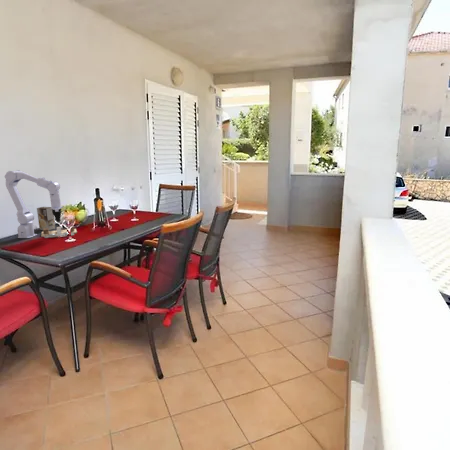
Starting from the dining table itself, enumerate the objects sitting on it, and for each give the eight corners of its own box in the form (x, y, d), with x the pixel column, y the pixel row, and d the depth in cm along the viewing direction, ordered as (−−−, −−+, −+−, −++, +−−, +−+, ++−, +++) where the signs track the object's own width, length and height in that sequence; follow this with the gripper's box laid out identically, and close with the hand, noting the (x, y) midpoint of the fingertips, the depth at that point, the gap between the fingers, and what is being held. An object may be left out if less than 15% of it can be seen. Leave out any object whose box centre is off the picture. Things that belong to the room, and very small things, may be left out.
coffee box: (55, 228, 251) (53, 207, 248) (49, 230, 245) (46, 208, 242) (45, 227, 254) (43, 206, 250) (39, 229, 248) (36, 207, 244)
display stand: (41, 236, 228) (40, 230, 227) (41, 233, 237) (41, 227, 236) (76, 233, 238) (76, 227, 237) (76, 230, 246) (75, 224, 245)
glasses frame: (44, 238, 224) (43, 229, 223) (44, 237, 228) (43, 228, 226) (74, 235, 232) (73, 226, 230) (74, 234, 235) (73, 225, 234)
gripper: (62, 201, 220) (65, 221, 223) (61, 198, 233) (64, 218, 236) (50, 202, 217) (53, 223, 220) (50, 199, 229) (52, 219, 232)
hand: (58, 220), depth 227 cm, fingers open, 7 cm apart
